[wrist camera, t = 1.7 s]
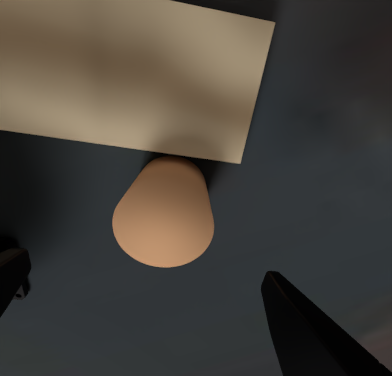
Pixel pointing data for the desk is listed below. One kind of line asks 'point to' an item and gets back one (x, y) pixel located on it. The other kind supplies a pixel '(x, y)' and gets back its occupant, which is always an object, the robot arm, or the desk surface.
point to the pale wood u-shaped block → (132, 74)
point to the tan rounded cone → (165, 214)
